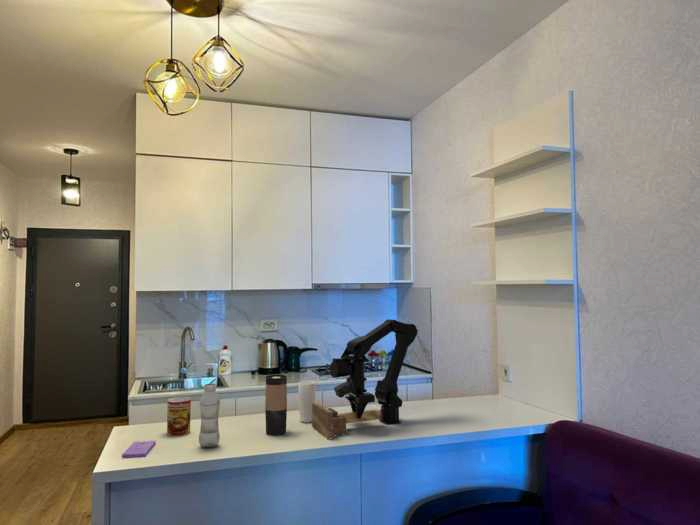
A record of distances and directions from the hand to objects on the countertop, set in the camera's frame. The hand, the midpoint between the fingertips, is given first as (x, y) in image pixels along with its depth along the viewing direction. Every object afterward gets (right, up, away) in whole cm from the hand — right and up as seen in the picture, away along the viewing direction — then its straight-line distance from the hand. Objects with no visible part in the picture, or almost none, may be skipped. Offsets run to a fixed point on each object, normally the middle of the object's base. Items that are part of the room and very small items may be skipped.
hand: (357, 417), depth 182 cm
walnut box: (-9, -4, -4) cm, 10 cm away
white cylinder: (-19, -5, +10) cm, 22 cm away
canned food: (-64, -4, -5) cm, 64 cm away
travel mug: (-29, -4, -5) cm, 30 cm away
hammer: (0, -1, 0) cm, 1 cm away
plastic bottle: (-49, -3, -20) cm, 53 cm away
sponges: (-70, -4, -25) cm, 74 cm away
